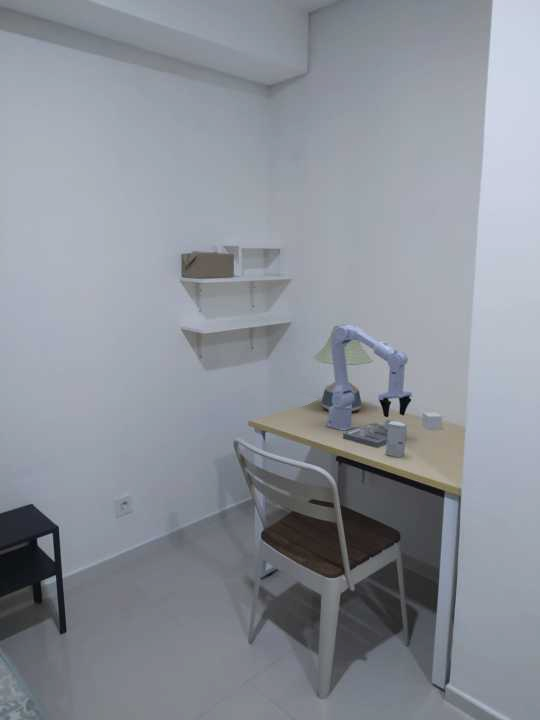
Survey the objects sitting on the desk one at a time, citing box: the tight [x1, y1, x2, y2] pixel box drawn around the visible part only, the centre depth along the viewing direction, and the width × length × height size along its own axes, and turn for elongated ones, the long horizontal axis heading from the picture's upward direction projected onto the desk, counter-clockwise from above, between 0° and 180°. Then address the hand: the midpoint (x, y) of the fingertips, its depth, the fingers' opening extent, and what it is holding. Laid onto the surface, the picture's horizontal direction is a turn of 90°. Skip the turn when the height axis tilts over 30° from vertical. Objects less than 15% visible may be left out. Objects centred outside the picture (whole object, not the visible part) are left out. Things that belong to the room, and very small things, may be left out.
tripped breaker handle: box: [384, 419, 394, 430], centre depth 228 cm, size 2×3×3 cm, turn 137°
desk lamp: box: [313, 322, 374, 413], centre depth 263 cm, size 26×28×42 cm
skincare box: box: [385, 420, 408, 458], centre depth 203 cm, size 6×4×12 cm
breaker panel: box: [342, 422, 408, 449], centre depth 224 cm, size 16×22×5 cm
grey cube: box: [421, 412, 443, 431], centre depth 239 cm, size 6×6×6 cm
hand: (393, 415), depth 221 cm, fingers open, 7 cm apart
